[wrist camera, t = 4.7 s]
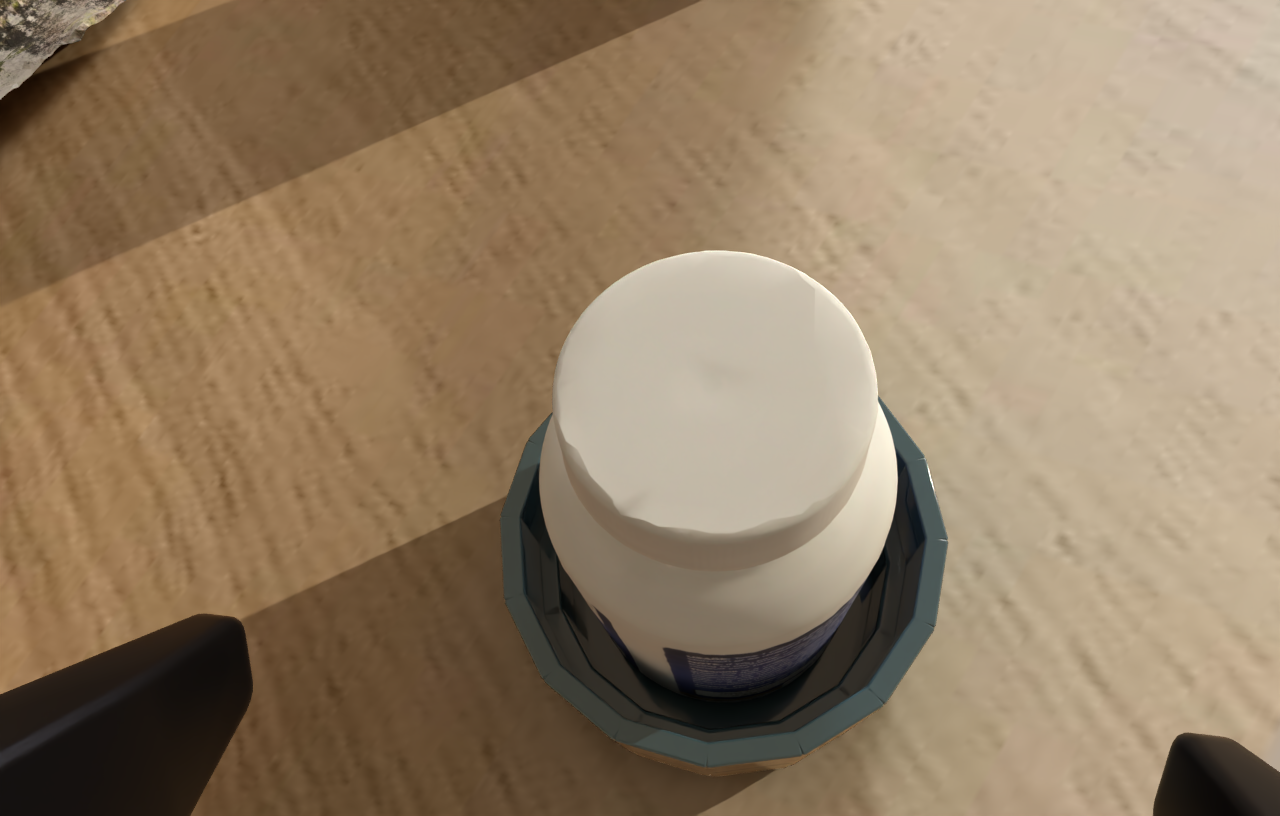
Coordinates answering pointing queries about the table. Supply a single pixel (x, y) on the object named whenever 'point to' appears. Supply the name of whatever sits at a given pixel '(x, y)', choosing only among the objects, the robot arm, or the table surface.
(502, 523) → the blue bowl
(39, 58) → the driftwood
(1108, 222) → the table surface
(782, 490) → the pill bottle
